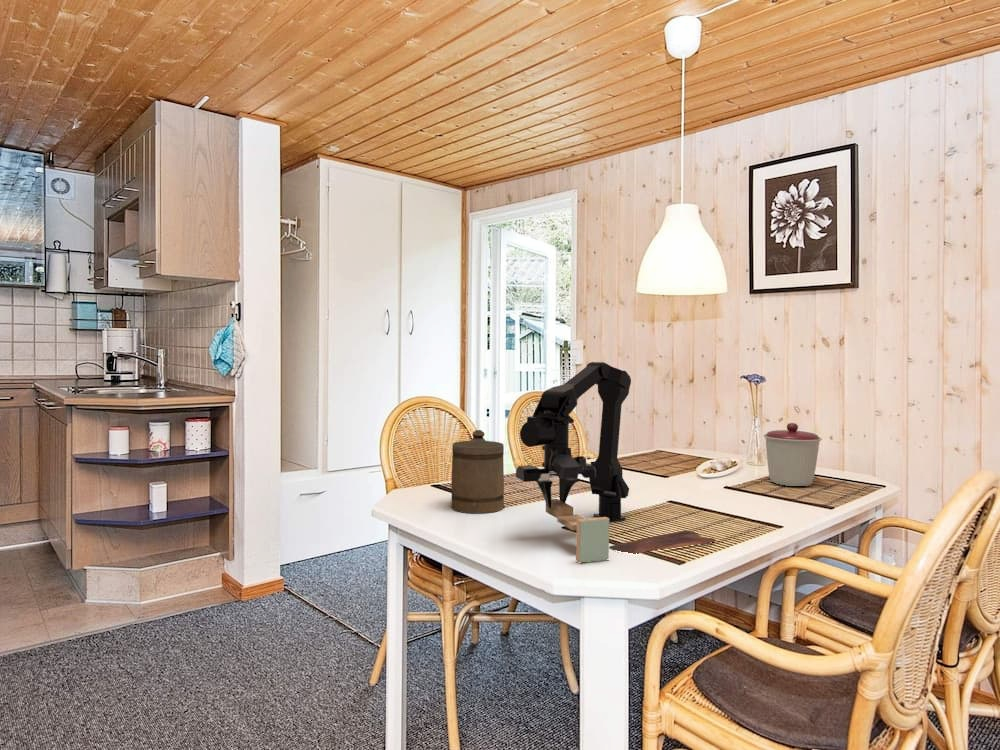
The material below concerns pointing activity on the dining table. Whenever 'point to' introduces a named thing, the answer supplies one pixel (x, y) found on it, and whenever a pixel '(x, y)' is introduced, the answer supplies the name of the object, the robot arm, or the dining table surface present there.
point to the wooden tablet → (662, 542)
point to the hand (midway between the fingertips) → (555, 507)
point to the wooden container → (477, 475)
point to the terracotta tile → (592, 539)
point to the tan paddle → (563, 513)
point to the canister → (792, 456)
